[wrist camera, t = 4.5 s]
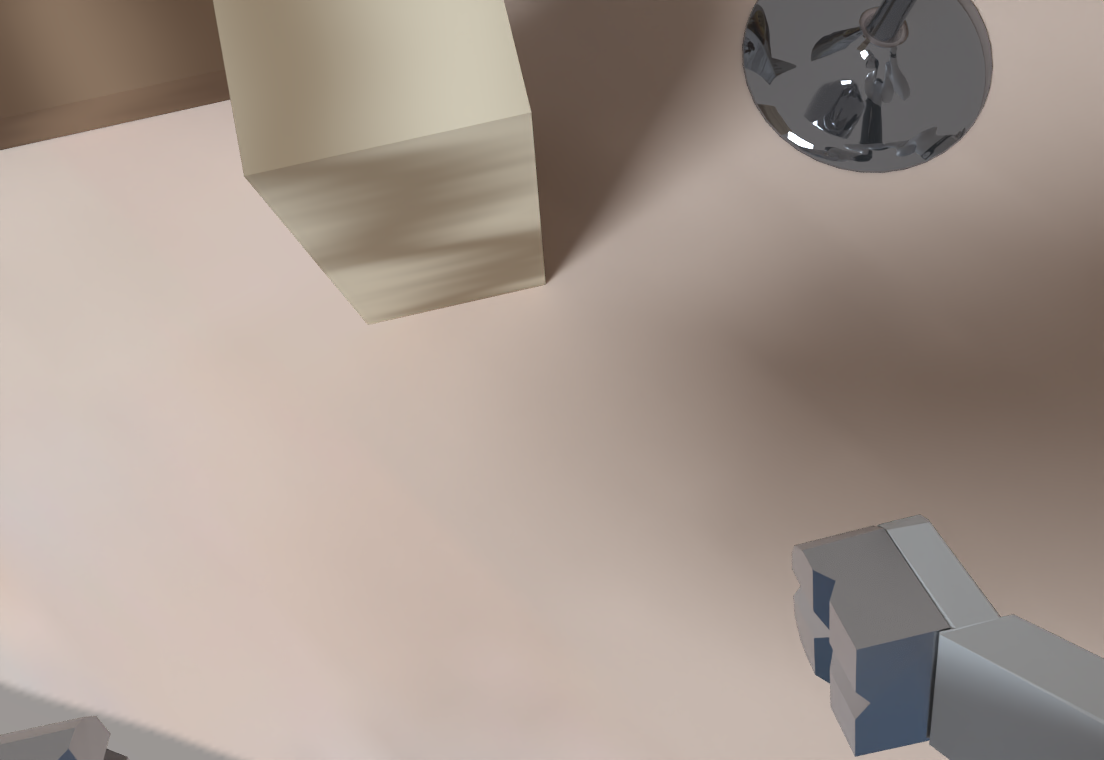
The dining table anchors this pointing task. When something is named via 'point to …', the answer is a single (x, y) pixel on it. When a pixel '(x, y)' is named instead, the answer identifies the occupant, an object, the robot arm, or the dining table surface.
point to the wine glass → (868, 77)
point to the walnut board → (103, 64)
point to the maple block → (390, 144)
